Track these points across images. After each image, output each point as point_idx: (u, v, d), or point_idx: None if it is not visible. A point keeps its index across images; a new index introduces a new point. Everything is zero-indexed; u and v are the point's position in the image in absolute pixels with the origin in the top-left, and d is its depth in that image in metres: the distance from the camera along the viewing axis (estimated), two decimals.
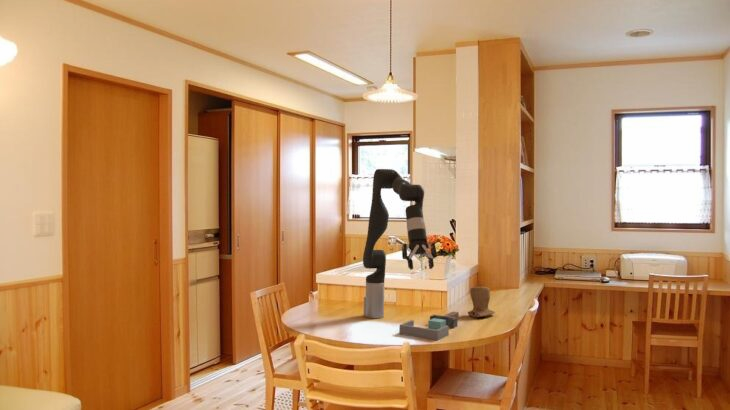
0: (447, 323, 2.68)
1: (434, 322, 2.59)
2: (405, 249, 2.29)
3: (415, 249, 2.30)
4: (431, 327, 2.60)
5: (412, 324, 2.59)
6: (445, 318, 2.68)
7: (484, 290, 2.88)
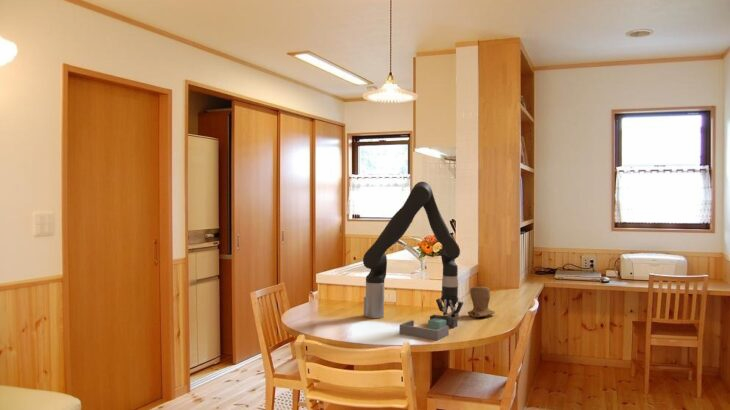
0: (447, 323, 2.68)
1: (433, 322, 2.60)
2: None
3: None
4: (431, 327, 2.61)
5: (412, 324, 2.59)
6: (445, 318, 2.68)
7: (484, 290, 2.88)
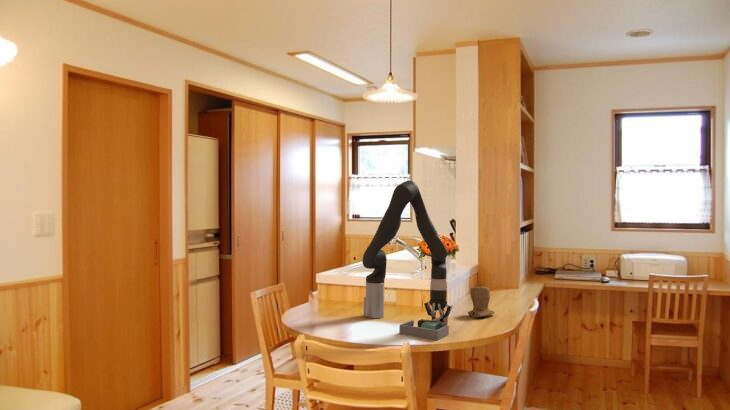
0: None
1: (427, 325, 2.52)
2: None
3: None
4: None
5: (412, 324, 2.59)
6: None
7: (484, 290, 2.88)
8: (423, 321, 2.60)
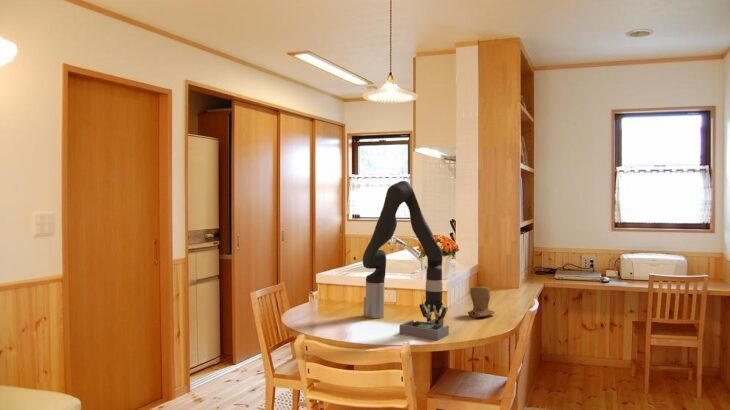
0: None
1: None
2: None
3: None
4: None
5: (412, 324, 2.59)
6: None
7: (484, 290, 2.88)
8: (418, 323, 2.56)
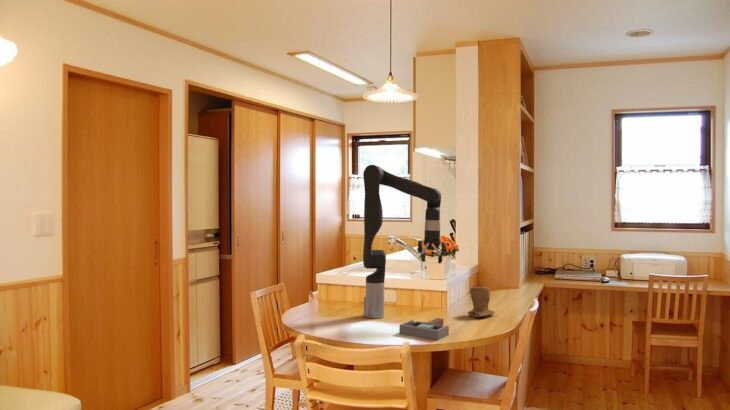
0: None
1: None
2: None
3: None
4: None
5: (412, 324, 2.59)
6: None
7: (484, 290, 2.88)
8: (418, 323, 2.56)
